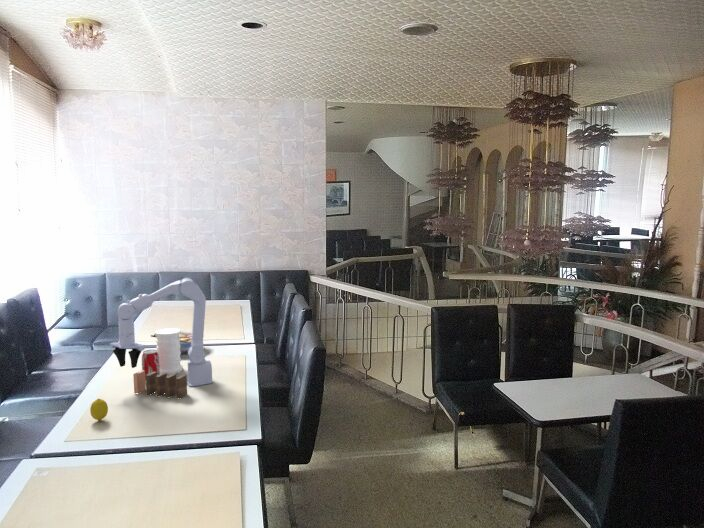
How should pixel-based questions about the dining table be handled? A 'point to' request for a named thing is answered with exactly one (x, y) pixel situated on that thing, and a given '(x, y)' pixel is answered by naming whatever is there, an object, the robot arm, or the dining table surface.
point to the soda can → (150, 362)
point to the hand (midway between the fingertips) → (128, 366)
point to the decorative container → (169, 350)
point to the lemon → (99, 409)
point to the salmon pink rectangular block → (139, 381)
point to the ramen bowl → (183, 341)
